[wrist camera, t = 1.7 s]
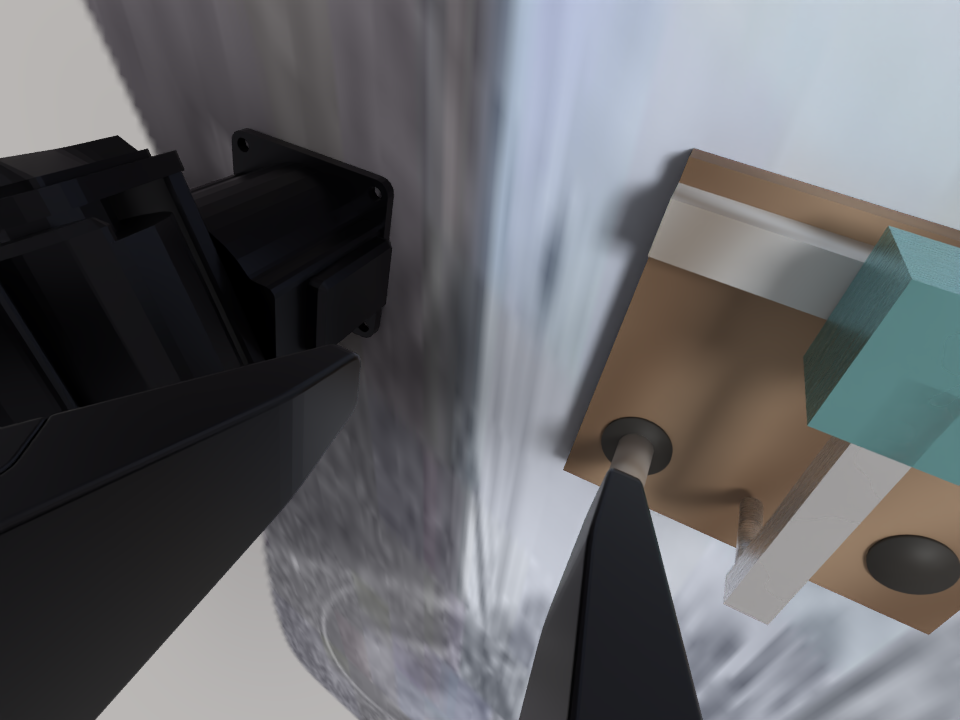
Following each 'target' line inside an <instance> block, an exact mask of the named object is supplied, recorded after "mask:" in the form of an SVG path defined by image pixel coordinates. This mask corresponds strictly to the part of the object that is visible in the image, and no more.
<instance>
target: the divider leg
mask: <svg viewBox="0 0 960 720" xmlns="http://www.w3.org/2000/svg"><path fill="white" fill-rule="evenodd" d="M803 362H804V379H805V396H806V413H807V426H809V427H812V428H814V429H817V430H819V431H822V432H824V433H827V434H829V435H832V436H831V438H830V439H829V440H828V442H827V443H826V444H825V446H824V447H823V448H822V450H821V451H820V452H819V454H818V455H817V456H816V458H815V459H814V460H813V461H812V463H811V464H810V465H809V467H808V468H807V469H806V471H805V472H804V473H803V475H802V476H801V477H800V479H799V480H798V481H797V483H796V484H795V485H794V486H793V488H792V489H791V490H790V492H789V493H788V494H787V496H786V497H785V498H784V500H783V501H782V502H781V504H780V505H779V506H778V507H777V509H776V510H775V511H774V513H773V514H772V515H771V517H770V518H769V519H768V521H767V522H766V523H765V525H764V526H763V503H762V502H761V501H760V500H759V499H757V498H754V497H745V498H743V499H742V500H741V501H740V508H739V520H738V533H737V545H736V558H735V564H734V565H733V567H732V568H731V569H730V571H729V572H728V573H727V575H726V580H725V591H724V601H723V604H725V605H727V606H729V607H731V608H733V609H735V610H737V611H739V612H742V613H744V614H746V615H748V616H750V617H752V618H754V619H756V620H758V621H761V622H763V623H765V624H767V625H768V624H769V623H770V622H771V621H772V620H773V619H774V618H775V616H776V615H777V614H778V613H779V612H780V611H781V610H782V609H783V608H784V607H785V606H786V604H787V603H788V602H789V601H790V600H791V599H792V598H793V597H794V596H795V595H796V593H797V592H798V591H799V590H800V589H801V588H802V587H803V586H804V585H805V584H806V582H807V581H808V580H809V579H810V578H811V577H812V576H813V575H814V574H815V573H816V572H817V570H818V569H819V568H820V567H821V566H822V565H823V564H824V563H825V562H826V561H827V559H828V558H829V557H830V556H831V555H832V554H833V553H834V552H835V551H836V550H837V549H838V547H839V546H840V545H841V544H842V543H843V542H844V541H845V540H846V539H847V538H848V536H849V535H850V534H851V533H852V532H853V531H854V530H855V529H856V528H857V527H858V525H859V524H860V523H861V522H862V521H863V520H864V519H865V518H866V517H867V516H868V515H869V513H870V512H871V511H872V510H873V509H874V508H875V507H876V506H877V505H878V504H879V502H880V501H881V500H882V499H883V498H884V497H885V496H886V495H887V494H888V493H889V492H890V490H891V489H892V488H893V487H894V486H895V485H896V484H897V483H898V482H899V481H900V479H901V478H902V477H903V476H904V475H905V474H906V473H907V472H908V471H909V470H910V468H911V467H913V468H915V469H918V470H920V471H923V472H925V473H928V474H930V475H933V476H935V477H938V478H940V479H943V480H945V481H948V482H950V483H953V484H955V485H958V486H959V485H960V248H958V247H955V246H952V245H948V244H945V243H942V242H939V241H936V240H933V239H929V238H926V237H923V236H920V235H917V234H914V233H910V232H907V231H904V230H901V229H898V228H895V227H891V226H888V227H887V228H886V230H885V231H884V233H883V235H882V236H881V238H880V239H879V241H878V242H877V244H876V245H875V247H874V248H873V250H872V252H871V253H870V255H869V256H868V258H867V259H866V261H865V262H864V264H863V265H862V267H861V269H860V270H859V272H858V273H857V275H856V276H855V278H854V279H853V281H852V282H851V284H850V285H849V287H848V289H847V290H846V292H845V293H844V295H843V296H842V298H841V299H840V301H839V302H838V304H837V306H836V307H835V309H834V310H833V312H832V313H831V315H830V316H829V318H828V319H827V321H826V322H825V324H824V326H823V327H822V329H821V330H820V332H819V333H818V335H817V336H816V338H815V339H814V341H813V343H812V344H811V346H810V347H809V349H808V350H807V352H806V353H805V355H804V356H803Z"/></svg>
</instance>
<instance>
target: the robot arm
mask: <svg viewBox="0 0 960 720" xmlns="http://www.w3.org/2000/svg"><path fill="white" fill-rule="evenodd" d="M245 140H246V141H247V142H248V145H249V148H248V147H247V145H246V143H245ZM232 152H233V170H234V175H231V176H228V177H225V178H223V179H220V180H217V181H214V182H211V183H208V184H205V185H202V186H200V187H197V188H194V189H191V190H189V188H188V185H187V183H186V181H185V179H184V176H183V174H182V172H181V171H184V167H183V165H182V163H181V161H180V158H179V156H178V154H177V152H176V150H175V151H171V152H167V153H163V154H159V155H156V156H151V154H150V152H149V150H148V149H144V150H140V151H138V150H136V149H135V148H134V147H132V146H131V145H129V144H128V143H127V142H126V141H124V140H123V139H122V138H121V137H119V136H118V135H117V136H113V137H108V138H104V139H99V140H95V141H91V142H86V143H82V144H77V145H73V146H68V147H63V148H59V149H53V150H47V151H41V152H35V153H29V154H23V155H17V156H11V157H5V158H0V720H95V719H96V718H97V717H98V716H99V715H100V714H101V713H102V712H103V710H104V709H105V708H106V707H107V706H108V705H109V704H110V703H111V701H112V700H113V699H114V698H115V697H116V696H117V695H118V694H119V692H120V691H121V690H122V689H123V688H124V687H125V686H126V685H127V683H128V682H129V681H130V680H131V679H132V678H133V677H134V676H135V674H136V673H137V672H138V671H139V670H140V669H141V668H142V667H143V666H144V664H145V663H146V662H147V661H148V660H149V659H150V658H151V657H152V655H153V654H154V653H155V652H156V651H157V650H158V649H159V647H160V646H161V645H162V644H163V643H164V642H165V641H166V639H168V637H169V636H170V635H171V634H172V633H173V632H174V631H175V629H176V628H177V627H178V626H179V625H180V624H181V623H182V622H183V621H184V619H185V618H186V617H187V616H188V615H189V614H190V613H191V612H192V610H193V609H194V608H195V607H196V606H197V605H198V604H199V602H200V601H201V600H202V599H203V598H204V597H205V596H206V595H207V594H208V593H209V591H210V590H211V589H212V588H213V587H214V586H215V585H216V583H217V582H218V581H219V580H220V579H221V578H222V577H223V575H225V573H226V572H227V571H228V570H229V569H230V568H231V567H232V565H233V564H234V563H235V562H236V561H237V560H238V559H239V558H240V556H241V555H242V554H243V553H244V552H245V551H246V550H247V549H248V548H249V546H250V545H251V544H252V543H253V542H254V541H255V540H256V539H257V537H258V536H259V535H260V534H261V533H262V532H263V531H264V530H265V529H266V527H267V526H268V525H269V524H270V523H271V522H272V521H273V520H274V518H275V517H276V516H277V515H278V514H279V513H280V512H281V511H282V509H283V508H284V507H285V506H286V505H287V503H288V502H289V501H290V500H291V499H292V497H293V496H294V495H295V493H296V492H297V491H298V489H299V488H300V487H301V485H302V484H303V483H304V481H305V480H306V478H307V477H308V476H309V474H310V473H311V471H312V470H313V469H314V467H315V466H316V464H317V463H318V461H319V460H320V459H321V457H322V456H323V454H324V453H325V452H326V450H327V449H328V447H329V446H330V444H331V443H332V442H333V440H334V439H335V437H336V436H337V435H338V433H339V432H340V430H341V429H342V428H343V426H344V425H345V423H346V422H347V420H348V419H349V418H350V416H351V415H352V413H353V411H354V409H355V407H356V404H357V399H358V390H359V379H360V368H361V360H360V357H359V355H358V354H356V353H355V352H353V351H350V350H348V349H346V348H344V347H341V346H339V345H336V344H337V343H339V342H340V341H341V340H342V339H344V338H345V337H346V336H347V335H349V334H350V333H351V332H353V333H355V334H357V335H360V336H362V337H366V338H367V337H371V336H372V335H373V334H374V333H375V332H377V331H378V329H379V326H380V317H381V308H382V307H383V306H384V305H385V304H386V297H387V289H388V280H389V271H390V262H391V253H392V247H391V244H390V241H389V235H390V226H391V217H392V208H393V198H394V191H393V187H392V185H391V183H390V182H389V181H388V180H387V179H386V178H384V177H382V176H379V175H376V174H374V173H371V172H368V171H365V170H363V169H360V168H357V167H354V166H352V165H349V164H346V163H343V162H341V161H338V160H335V159H332V158H329V157H327V156H324V155H321V154H318V153H316V152H313V151H310V150H307V149H305V148H302V147H299V146H296V145H294V144H291V143H288V142H285V141H283V140H280V139H277V138H274V137H272V136H269V135H266V134H263V133H260V132H258V131H255V130H252V129H248V128H245V129H242V130H238V131H236V132H234V134H233V136H232ZM375 187H377V188H378V189H379V190H380V191H381V195H382V197H381V198H380V197H379V196H377V194H376V193H375ZM364 322H366V323H367V324H368V327H367V326H366V325H365V324H364ZM519 720H703V718H702V714H701V710H700V707H699V703H698V699H697V695H696V691H695V687H694V683H693V679H692V675H691V671H690V667H689V663H688V660H687V656H686V652H685V648H684V644H683V640H682V636H681V632H680V628H679V624H678V620H677V616H676V612H675V609H674V605H673V601H672V597H671V593H670V589H669V585H668V581H667V577H666V573H665V569H664V565H663V561H662V558H661V554H660V550H659V546H658V542H657V538H656V534H655V530H654V526H653V522H652V518H651V514H650V511H649V507H648V503H647V499H646V495H645V491H644V487H643V484H642V482H641V480H640V479H638V478H637V477H634V476H632V475H630V474H628V473H625V472H623V471H621V470H619V469H616V468H610V469H609V470H608V471H607V473H606V475H605V477H604V479H603V481H602V483H601V485H600V488H599V490H598V492H597V494H596V496H595V498H594V500H593V502H592V505H591V507H590V509H589V511H588V513H587V516H586V518H585V520H584V523H583V525H582V528H581V530H580V533H579V535H578V538H577V541H576V543H575V546H574V548H573V551H572V553H571V556H570V558H569V561H568V563H567V566H566V569H565V571H564V574H563V576H562V579H561V581H560V584H559V586H558V589H557V591H556V594H555V596H554V599H553V602H552V604H551V607H550V609H549V612H548V615H547V618H546V620H545V623H544V626H543V629H542V633H541V636H540V640H539V643H538V647H537V651H536V655H535V659H534V662H533V666H532V670H531V674H530V678H529V682H528V686H527V690H526V694H525V698H524V702H523V706H522V710H521V714H520V718H519Z"/></svg>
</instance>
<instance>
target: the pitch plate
mask: <svg viewBox="0 0 960 720" xmlns="http://www.w3.org/2000/svg"><path fill="white" fill-rule="evenodd" d="M888 226H891V227H895V228H898V229H901V230H904V231H907V232H910V233H914V234H917V235H920V236H923V237H926V238H929V239H933V240H936V241H939V242H942V243H945V244H948V245H952V246H955V247H958V248H960V231H959V230H956V229H953V228H949V227H946V226H943V225H940V224H937V223H933V222H930V221H927V220H924V219H920V218H917V217H914V216H911V215H908V214H904V213H901V212H898V211H895V210H891V209H888V208H885V207H882V206H878V205H875V204H872V203H869V202H866V201H862V200H859V199H856V198H853V197H849V196H846V195H843V194H840V193H837V192H833V191H830V190H827V189H824V188H820V187H817V186H814V185H811V184H808V183H804V182H801V181H798V180H795V179H791V178H788V177H785V176H782V175H779V174H775V173H772V172H769V171H766V170H762V169H759V168H756V167H753V166H749V165H746V164H743V163H740V162H737V161H733V160H730V159H727V158H724V157H720V156H717V155H714V154H711V153H708V152H704V151H701V150H698V149H695V148H694V149H693V151H692V152H691V154H690V156H689V159H688V161H687V164H686V166H685V168H684V171H683V173H682V176H681V178H680V181H679V183H678V185H677V187H676V189H675V191H674V193H673V195H672V197H671V199H670V201H669V204H668V206H667V209H666V211H665V214H664V216H663V219H662V221H661V224H660V226H659V229H658V231H657V234H656V236H655V239H654V241H653V244H652V246H651V249H650V251H649V254H648V256H649V258H648V260H647V263H646V265H645V268H644V270H643V273H642V275H641V278H640V280H639V283H638V285H637V288H636V290H635V293H634V295H633V298H632V300H631V303H630V305H629V308H628V310H627V313H626V315H625V317H624V320H623V322H622V325H621V327H620V330H619V332H618V335H617V337H616V340H615V342H614V345H613V347H612V350H611V352H610V355H609V357H608V360H607V362H606V365H605V367H604V370H603V372H602V375H601V377H600V380H599V382H598V385H597V387H596V389H595V392H594V394H593V397H592V399H591V402H590V404H589V407H588V409H587V412H586V414H585V417H584V419H583V422H582V424H581V427H580V429H579V432H578V434H577V437H576V439H575V442H574V444H573V447H572V449H571V452H570V454H569V457H568V459H567V462H566V464H565V466H564V469H563V470H564V471H567V472H569V473H571V474H573V475H576V476H578V477H580V478H582V479H584V480H587V481H589V482H591V483H593V484H596V485H598V486H600V485H601V483H602V481H603V479H604V477H605V475H606V473H607V471H608V470H609V469H610V468H616V469H619V470H621V471H623V472H625V473H628V474H630V475H632V476H634V477H637V478H638V479H640V480H641V482H642V484H643V487H644V491H645V495H646V499H647V503H648V507H649V509H651V510H653V511H655V512H658V513H660V514H662V515H664V516H666V517H669V518H671V519H673V520H675V521H678V522H680V523H682V524H684V525H686V526H689V527H691V528H693V529H695V530H698V531H700V532H702V533H704V534H706V535H709V536H711V537H713V538H715V539H717V540H720V541H722V542H724V543H726V544H729V545H731V546H733V547H735V548H736V545H737V533H738V520H739V508H740V501H741V500H742V499H743V498H745V497H754V498H757V499H759V500H760V501H761V502H762V503H763V526H764V525H765V523H766V522H767V521H768V519H769V518H770V517H771V515H772V514H773V513H774V511H775V510H776V509H777V507H778V506H779V505H780V504H781V502H782V501H783V500H784V498H785V497H786V496H787V494H788V493H789V492H790V490H791V489H792V488H793V486H794V485H795V484H796V483H797V481H798V480H799V479H800V477H801V476H802V475H803V473H804V472H805V471H806V469H807V468H808V467H809V465H810V464H811V463H812V461H813V460H814V459H815V458H816V456H817V455H818V454H819V452H820V451H821V450H822V448H823V447H824V446H825V444H826V443H827V442H828V440H829V439H830V438H831V436H832V435H829V434H827V433H824V432H822V431H819V430H817V429H814V428H812V427H809V426H807V413H806V396H805V379H804V362H803V356H804V355H805V353H806V352H807V350H808V349H809V347H810V346H811V344H812V343H813V341H814V339H815V338H816V336H817V335H818V333H819V332H820V330H821V329H822V327H823V326H824V324H825V322H826V321H827V319H828V318H829V316H830V315H831V313H832V312H833V310H834V309H835V307H836V306H837V304H838V302H839V301H840V299H841V298H842V296H843V295H844V293H845V292H846V290H847V289H848V287H849V285H850V284H851V282H852V281H853V279H854V278H855V276H856V275H857V273H858V272H859V270H860V269H861V267H862V265H863V264H864V262H865V261H866V259H867V258H868V256H869V255H870V253H871V252H872V250H873V248H874V247H875V245H876V244H877V242H878V241H879V239H880V238H881V236H882V235H883V233H884V231H885V230H886V228H887V227H888ZM808 581H811V582H813V583H815V584H817V585H819V586H822V587H824V588H826V589H828V590H831V591H833V592H835V593H837V594H839V595H842V596H844V597H846V598H848V599H850V600H853V601H855V602H857V603H859V604H862V605H864V606H866V607H868V608H870V609H873V610H875V611H877V612H879V613H882V614H884V615H886V616H888V617H890V618H893V619H895V620H897V621H899V622H901V623H904V624H906V625H908V626H910V627H913V628H915V629H917V630H919V631H921V632H924V633H926V634H928V635H929V634H930V633H932V632H933V631H934V630H935V629H937V628H938V627H939V626H940V625H942V624H943V623H944V622H945V621H947V620H948V619H949V618H950V617H952V616H953V615H954V614H955V613H957V612H958V611H959V610H960V485H959V486H958V485H955V484H953V483H950V482H948V481H945V480H943V479H940V478H938V477H935V476H933V475H930V474H928V473H925V472H923V471H920V470H918V469H915V468H913V467H911V468H910V470H909V471H908V472H907V473H906V474H905V475H904V476H903V477H902V478H901V479H900V481H899V482H898V483H897V484H896V485H895V486H894V487H893V488H892V489H891V490H890V492H889V493H888V494H887V495H886V496H885V497H884V498H883V499H882V500H881V501H880V502H879V504H878V505H877V506H876V507H875V508H874V509H873V510H872V511H871V512H870V513H869V515H868V516H867V517H866V518H865V519H864V520H863V521H862V522H861V523H860V524H859V525H858V527H857V528H856V529H855V530H854V531H853V532H852V533H851V534H850V535H849V536H848V538H847V539H846V540H845V541H844V542H843V543H842V544H841V545H840V546H839V547H838V549H837V550H836V551H835V552H834V553H833V554H832V555H831V556H830V557H829V558H828V559H827V561H826V562H825V563H824V564H823V565H822V566H821V567H820V568H819V569H818V570H817V572H816V573H815V574H814V575H813V576H812V577H811V578H810V579H809V580H808Z"/></svg>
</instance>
